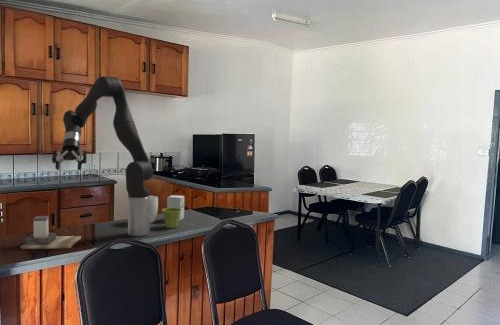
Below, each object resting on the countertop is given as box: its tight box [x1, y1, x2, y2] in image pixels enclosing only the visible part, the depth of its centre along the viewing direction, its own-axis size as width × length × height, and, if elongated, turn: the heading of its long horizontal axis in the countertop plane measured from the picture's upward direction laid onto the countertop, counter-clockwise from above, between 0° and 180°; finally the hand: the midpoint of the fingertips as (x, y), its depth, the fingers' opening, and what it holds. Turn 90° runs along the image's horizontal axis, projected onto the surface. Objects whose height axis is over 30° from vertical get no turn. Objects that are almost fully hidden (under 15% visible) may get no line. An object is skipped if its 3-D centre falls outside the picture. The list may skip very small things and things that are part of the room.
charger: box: [32, 215, 50, 238], centre depth 152 cm, size 4×4×10 cm
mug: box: [149, 195, 159, 224], centre depth 193 cm, size 15×11×13 cm
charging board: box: [20, 232, 82, 250], centre depth 154 cm, size 18×14×4 cm
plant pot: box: [161, 207, 182, 229], centre depth 187 cm, size 9×9×9 cm
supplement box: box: [166, 194, 185, 222], centre depth 203 cm, size 7×7×13 cm
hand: (68, 169), depth 171 cm, fingers open, 8 cm apart
